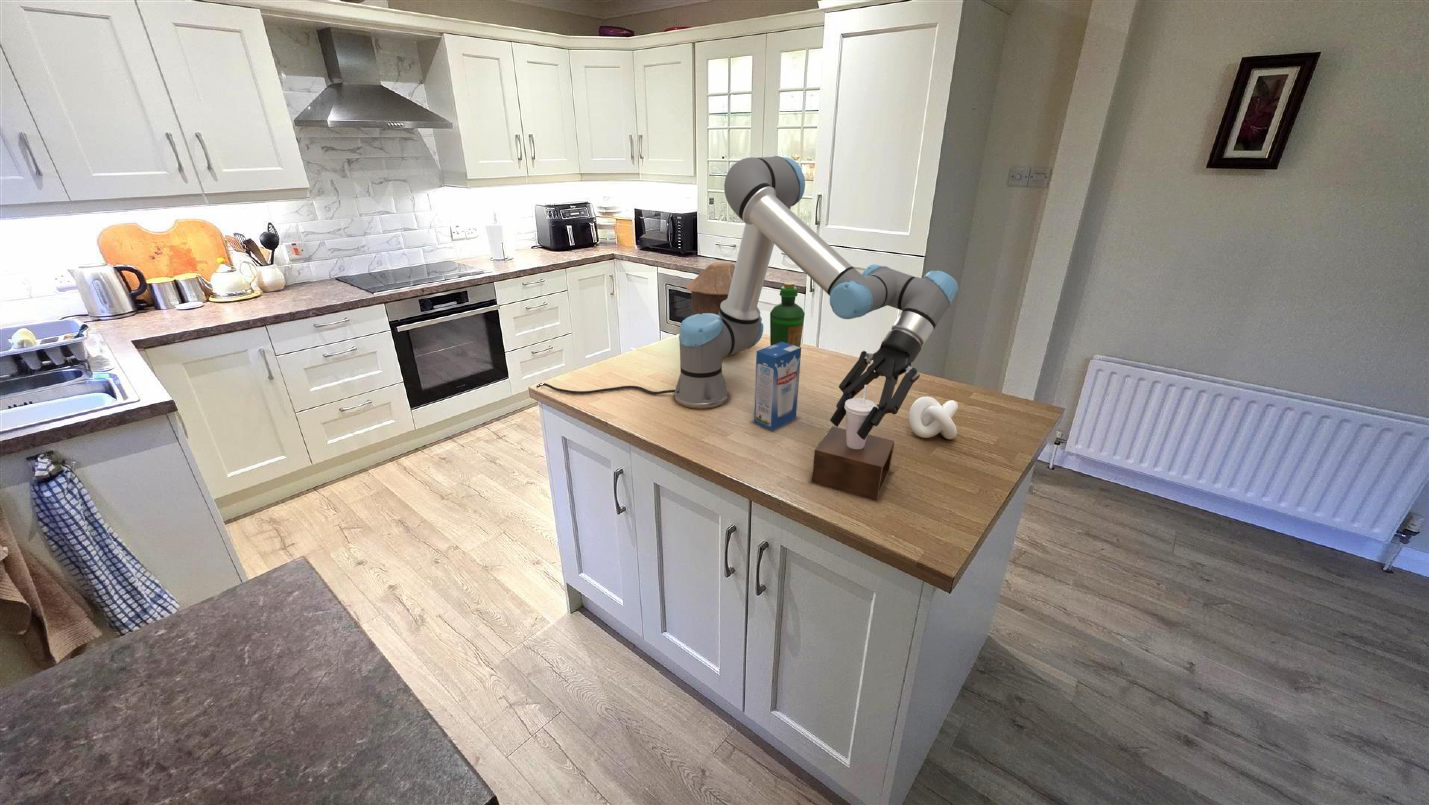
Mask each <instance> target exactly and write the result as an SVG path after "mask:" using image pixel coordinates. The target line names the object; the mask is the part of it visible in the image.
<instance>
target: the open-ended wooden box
mask: <svg viewBox="0 0 1429 805" xmlns="http://www.w3.org/2000/svg"><path fill="white" fill-rule="evenodd" d="M894 446H895V440H893V439H890V438H885V437H881V436H876V435H872V434H868V435H867V439H866V442H865V446H864V448H862V449H852V448H850V447H848V446H847V439H846V428H842V427H839V426H838V427H837V426H835V425H831V426H830V428H829V429H828V431H827V432H826V433H825V435H824V436H823V438H822V439H821V440H820V442H819V443H818V445H817V446H816V447H815V449H814V454H813V464H812V473H811V474H812V475H811V483H813V484H816V485H820V486H823V487H827V488H831V489H834V490H837V491H841V492H844V493H848V494H852V495H855V496H859V497H863V498H866V499H870V500H872V501H878V498H879V496H880V494H881V492H882V490H883V488H884V486H885V483H886V481H887V479H888V476H889V475H890V470H891V466H892V458H893V452H894Z"/></svg>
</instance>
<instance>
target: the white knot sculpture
mask: <svg viewBox="0 0 1429 805" xmlns="http://www.w3.org/2000/svg"><path fill="white" fill-rule="evenodd" d="M958 409H959V404H958V402H957V401H956V400H951V399H950V400H948V401H945V403H943V404H942V405H941V403H940V402H939V401H938V400H937V399H935V397H932V396H921V397H919V398H917V399H916V400H915V401H914V402H913V403H912V405H911V406H910V409H909V411H908V424H909V426H910V429H911V431H912V433H914V434H915V435H916V436H918V437H920V438H924V439H928V438H929V439H930V438H933V437H935V436H937V435H938V434H941V436H942V437H943V438H945V439H946V440H953V439H955V438H956V437H957V435H958V429H957V427H956V424H955V423H954V422H955V421H953V419H952V418H953V417H954V415H955V414H956V412H957V411H958Z"/></svg>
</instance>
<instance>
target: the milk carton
mask: <svg viewBox="0 0 1429 805" xmlns="http://www.w3.org/2000/svg"><path fill="white" fill-rule="evenodd" d="M801 356H802V347H801V346H800V347H798V346H794V345H791V344H788V343H785V342H780V343H777V344H774V345H771V346H770V345H769V346H766V347H764V348H761V349H758V350H756V354H755V357H756V358H755V382H754V384H755V385H754V408H753V409H754V410H753V412H754V413H753V423H754V424H756V425H758V426H760V427H761V428H765V429H767V430H769V431H773V432H774V431H775V430H778V428H780V427H783V426H784V425H787V424H788V423H790V422H792V421H794V420H797V410H798V409H797V408H798V395H799V386H800V385H799V383H800V372H801V371H800V370H801Z"/></svg>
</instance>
